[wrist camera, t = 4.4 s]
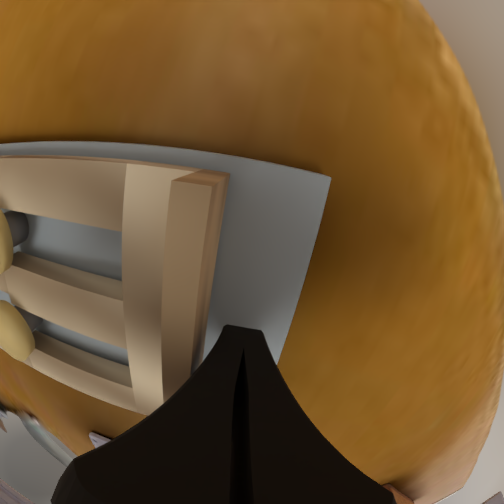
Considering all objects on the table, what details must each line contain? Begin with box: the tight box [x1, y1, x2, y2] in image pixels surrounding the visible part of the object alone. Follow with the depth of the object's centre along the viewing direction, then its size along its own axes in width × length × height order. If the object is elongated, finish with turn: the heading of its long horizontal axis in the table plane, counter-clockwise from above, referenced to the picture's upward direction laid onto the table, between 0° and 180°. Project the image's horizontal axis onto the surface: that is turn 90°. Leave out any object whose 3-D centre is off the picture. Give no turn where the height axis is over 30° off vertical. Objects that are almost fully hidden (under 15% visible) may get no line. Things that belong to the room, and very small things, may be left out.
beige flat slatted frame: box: [0, 155, 230, 416], centre depth 8 cm, size 11×14×3 cm
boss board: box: [0, 141, 331, 366], centre depth 9 cm, size 12×23×4 cm, turn 80°
